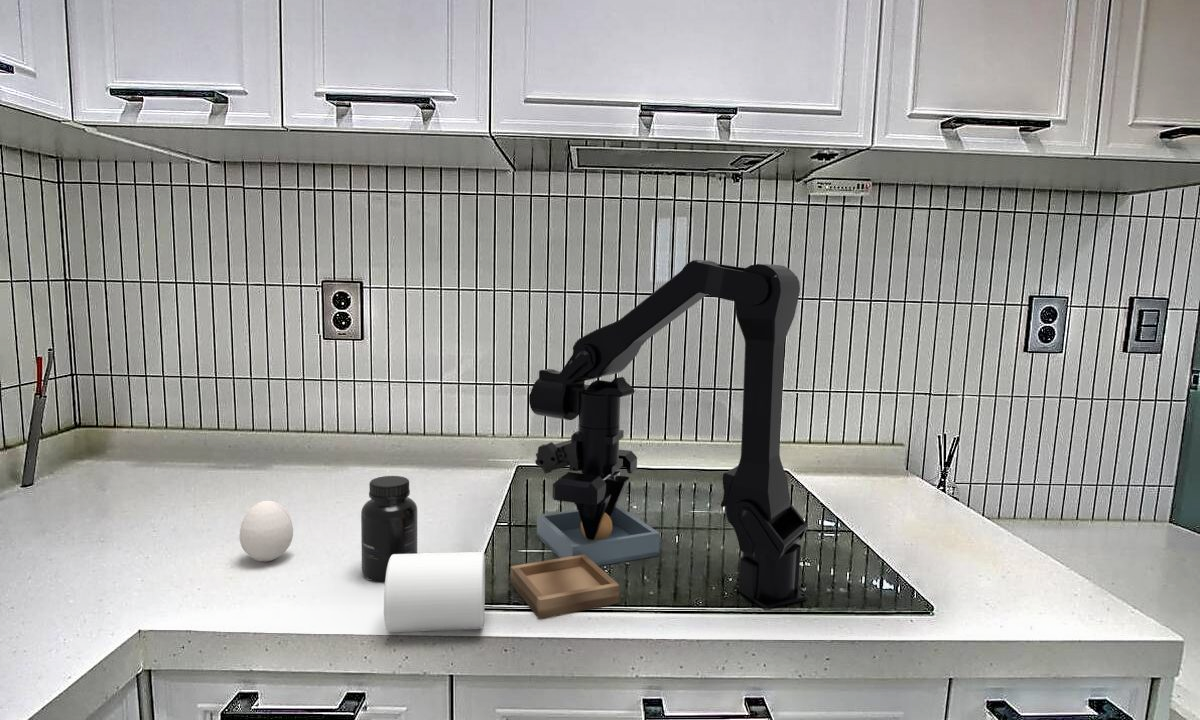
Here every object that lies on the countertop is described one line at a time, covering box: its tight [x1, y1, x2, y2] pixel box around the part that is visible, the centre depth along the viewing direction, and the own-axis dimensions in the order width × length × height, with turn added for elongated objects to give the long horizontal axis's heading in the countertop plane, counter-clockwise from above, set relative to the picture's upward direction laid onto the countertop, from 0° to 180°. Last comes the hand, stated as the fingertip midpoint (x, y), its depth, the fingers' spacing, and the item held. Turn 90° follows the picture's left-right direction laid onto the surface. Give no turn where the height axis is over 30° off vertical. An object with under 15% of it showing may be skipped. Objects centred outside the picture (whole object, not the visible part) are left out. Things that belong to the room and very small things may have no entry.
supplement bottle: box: [360, 475, 418, 583], centre depth 91 cm, size 7×7×12 cm
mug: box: [383, 551, 486, 633], centre depth 80 cm, size 12×10×8 cm
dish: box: [536, 504, 661, 567], centre depth 102 cm, size 13×13×3 cm
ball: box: [581, 513, 613, 542], centre depth 102 cm, size 4×4×4 cm
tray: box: [510, 554, 621, 620], centre depth 87 cm, size 10×10×2 cm
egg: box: [239, 500, 294, 562], centre depth 94 cm, size 6×6×8 cm
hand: (596, 533), depth 102 cm, fingers closed on ball, 4 cm apart
